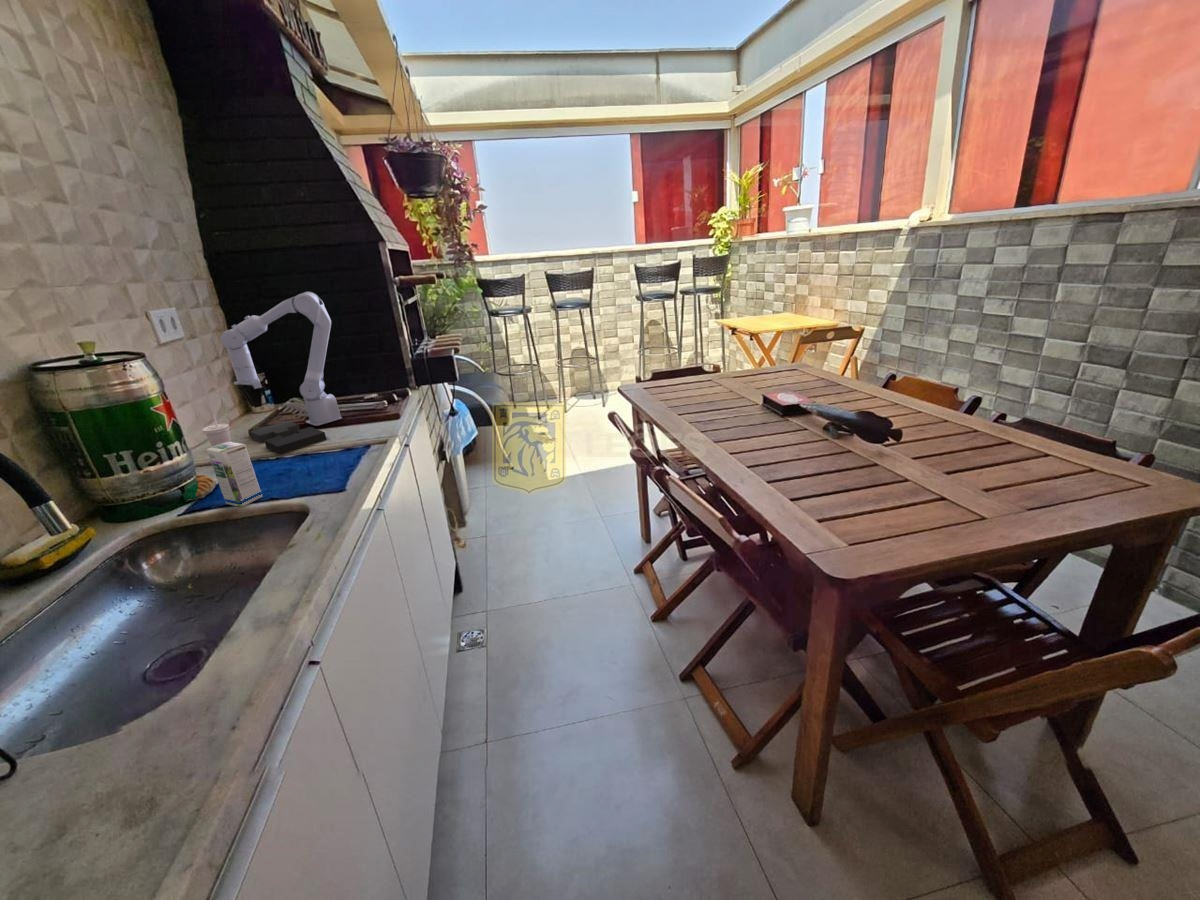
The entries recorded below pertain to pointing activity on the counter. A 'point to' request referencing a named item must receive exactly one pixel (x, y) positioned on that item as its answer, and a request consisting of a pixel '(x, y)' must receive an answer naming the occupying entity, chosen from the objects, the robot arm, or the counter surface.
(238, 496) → the syrup box
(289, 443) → the base pad
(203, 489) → the pastry
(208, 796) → the counter surface
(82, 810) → the counter surface
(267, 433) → the loose pad
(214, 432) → the smoothie
